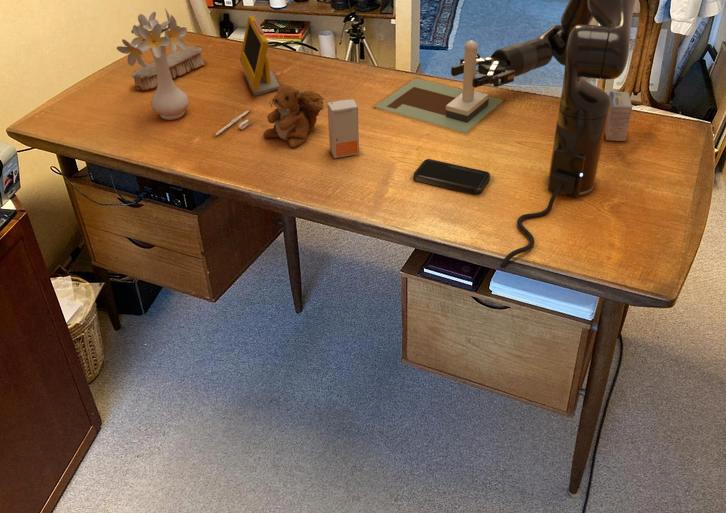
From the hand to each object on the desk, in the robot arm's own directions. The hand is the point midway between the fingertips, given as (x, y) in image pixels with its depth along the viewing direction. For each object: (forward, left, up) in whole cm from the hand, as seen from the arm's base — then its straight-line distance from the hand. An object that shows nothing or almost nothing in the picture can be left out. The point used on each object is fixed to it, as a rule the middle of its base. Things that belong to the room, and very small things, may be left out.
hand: (462, 77), depth 167 cm
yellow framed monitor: (-12, +54, -10) cm, 56 cm away
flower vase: (-38, +61, -10) cm, 73 cm away
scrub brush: (+2, -1, -9) cm, 10 cm away
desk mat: (+2, +7, -10) cm, 12 cm away
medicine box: (+10, -35, -10) cm, 37 cm away
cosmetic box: (-30, +13, -10) cm, 34 cm away
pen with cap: (-33, +43, -10) cm, 55 cm away
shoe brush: (-21, +80, -10) cm, 84 cm away
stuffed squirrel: (-29, +28, -10) cm, 42 cm away
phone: (-27, -13, -10) cm, 31 cm away
